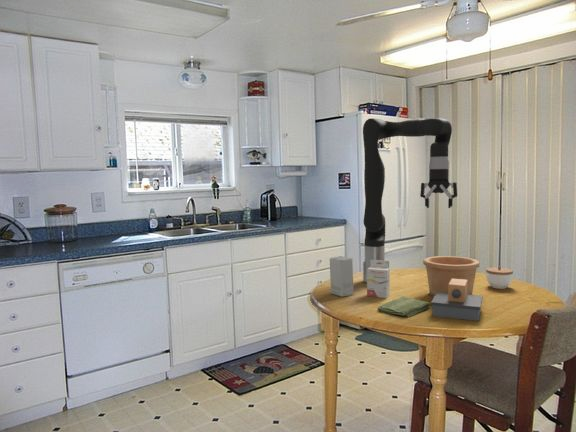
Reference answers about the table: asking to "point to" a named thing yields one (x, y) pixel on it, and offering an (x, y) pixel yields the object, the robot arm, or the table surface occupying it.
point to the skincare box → (341, 276)
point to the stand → (457, 307)
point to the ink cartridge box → (378, 279)
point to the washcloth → (404, 306)
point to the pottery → (449, 272)
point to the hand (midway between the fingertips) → (438, 207)
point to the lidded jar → (499, 277)
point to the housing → (457, 290)
